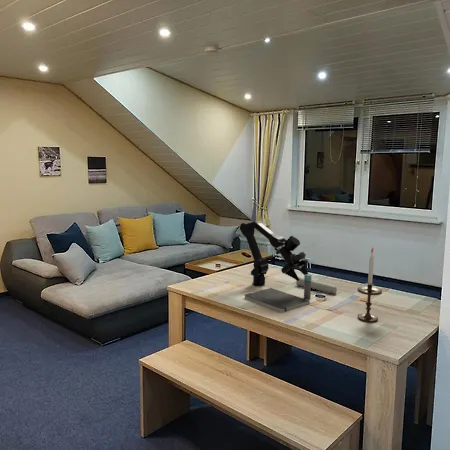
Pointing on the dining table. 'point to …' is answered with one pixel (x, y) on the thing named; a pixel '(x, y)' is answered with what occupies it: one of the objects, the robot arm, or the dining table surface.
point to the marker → (307, 286)
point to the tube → (318, 286)
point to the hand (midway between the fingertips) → (303, 278)
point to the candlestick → (369, 293)
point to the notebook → (276, 299)
